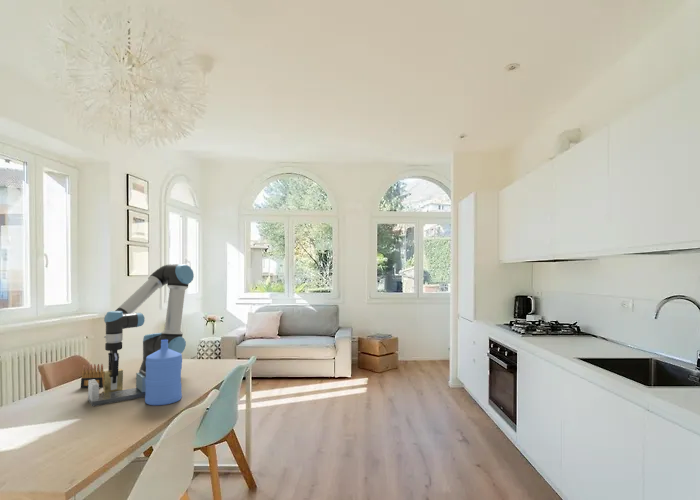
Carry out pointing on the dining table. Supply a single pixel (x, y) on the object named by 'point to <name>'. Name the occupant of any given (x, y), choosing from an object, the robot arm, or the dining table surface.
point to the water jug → (163, 376)
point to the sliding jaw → (141, 380)
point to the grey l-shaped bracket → (110, 394)
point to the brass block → (108, 381)
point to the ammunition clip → (92, 375)
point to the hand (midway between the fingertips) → (112, 388)
